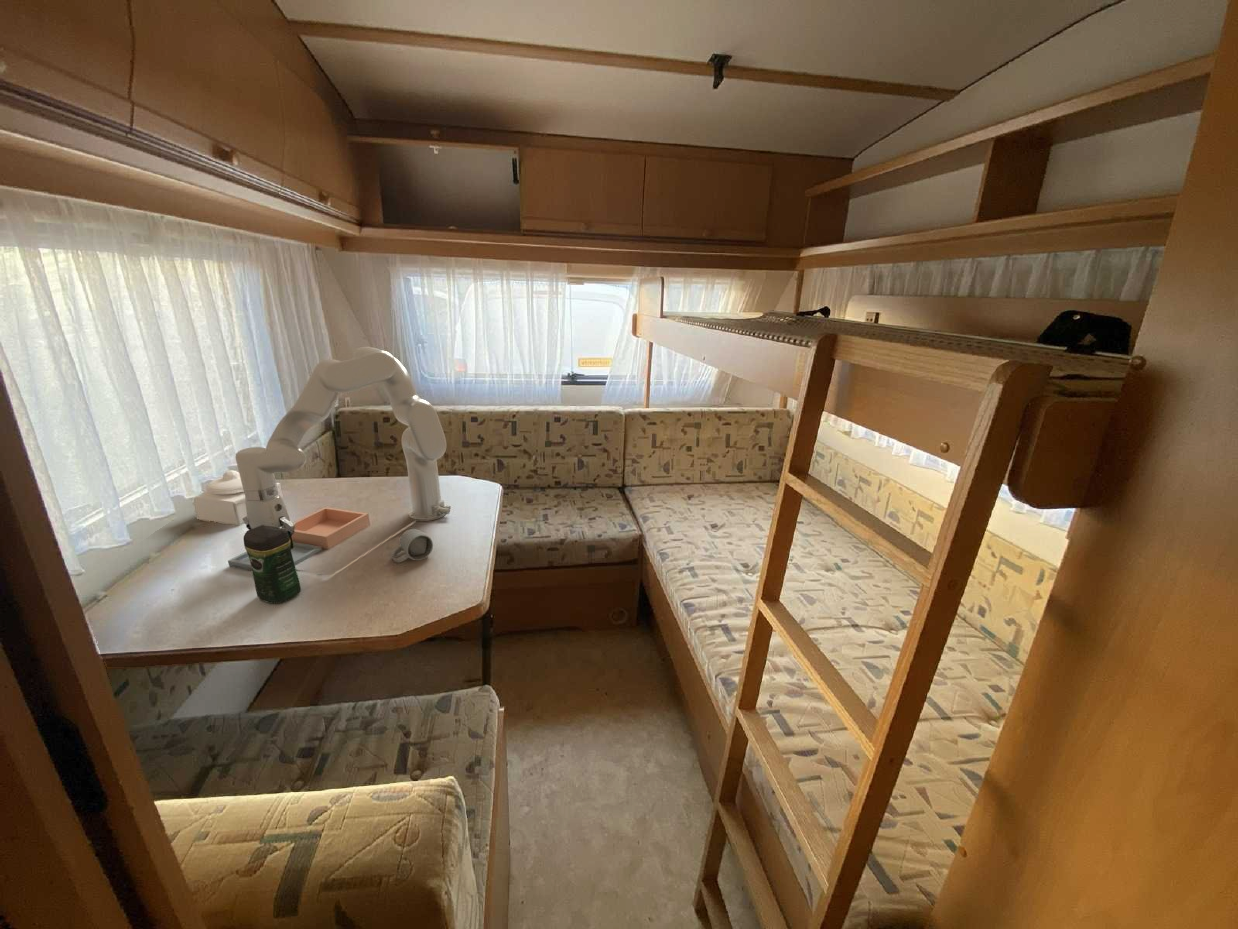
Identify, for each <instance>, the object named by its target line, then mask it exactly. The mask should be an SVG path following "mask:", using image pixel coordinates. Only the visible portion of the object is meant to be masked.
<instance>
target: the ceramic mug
mask: <svg viewBox="0 0 1238 929" xmlns="http://www.w3.org/2000/svg"><path fill="white" fill-rule="evenodd" d="M399 545H400V546H399V547H397V548H396V549H395V550H394V551H393V552H392V553H391V558H392V560H393V561H394V562H395V563H397V564H398V563H402V562H403V561H406V560H407V559H410V560H411V561H422V560H425V559H426V558H428V557H429V556H430V555H431V553H432V551H433V548H434V542H433V539H432V538H431V537H430V536H429V535H427V534H426V533H424V532H423V531H422V530H420V529H417V528H410V529H407V530H405V531H404V532H403V533H402V534H401V535H400V537H399ZM401 552H404V554H402V555H401V556H399V557H397V556H398V555H399V554H400V553H401Z"/></svg>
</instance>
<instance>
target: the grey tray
mask: <svg viewBox="0 0 1238 929" xmlns="http://www.w3.org/2000/svg"><path fill="white" fill-rule="evenodd" d="M293 546H294V548H293V549H291V553H292V557H293V561H294V565H295V566H297V565H298V564H300V563H303V561H306V560H307V559H309V558H311V557H312V556H314V555H316V554H317V553H319V552H321V551H323V550H322V549H323V548H321V547H320V546H314V545H309V544H303V543H297V542H293ZM227 563H228V567H229V568H232V569H238V570H243V571H247V572H252V568H251V563H250V559H249V556H248V554H247V551H246V550H245V552H242V553H241V554H238V555H237V556H234V557H233V558H230V559H228V560H227Z"/></svg>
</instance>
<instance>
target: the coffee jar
mask: <svg viewBox="0 0 1238 929" xmlns="http://www.w3.org/2000/svg"><path fill="white" fill-rule="evenodd" d="M281 528H282V527H280V528H277V527H272V526H264V525H261V526H258V527H256V528H253V529H251V530H249V529H248V530H246V531H245V533H244V535H243V546H244V549H245V552H246V551H247V554H248V556H249V559H250V563H251V568H252V571H251V573H252V576H253V582H254V587H255V591H256V592H255V593H256V595H257V598H258V599H260V600H261V601H264V602H266V603H269V604H280V603H282V602H287V601H290V600H291V599H293V598H295V597H296V596H297V595H298V594H300V592H301V590H302V587H301V584H300V579H299V576H298V573H297V569H296V565H294V561H293V557H292V553H291V547H290V544H291V541H290V538H289V535H288V532H287V530H284V529H281Z"/></svg>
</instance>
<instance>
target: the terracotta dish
mask: <svg viewBox="0 0 1238 929" xmlns="http://www.w3.org/2000/svg"><path fill="white" fill-rule="evenodd" d="M292 523H293V524H294V525H295V529H294V533H293V536H291V537H292V542H297V543H303V544H309V545H314V546H320V547H321V548H322V549H327V550H330V549H331V548H333V547H335V546H337V545H338V544H340V543H342V542H344V541H345V540H346V539H349V538H350V537H352V536H353V535H355V534H357V533H359V532H360V531H362V530H364V529H365V528H368V526H370V525H371V523H370V517H369V513H366V512H359V511H354V510H346V509H341V508H333V507H327V506H324V507H323V508H321V509H318V510H317V511H315V512H312V513H310V514H308V515H305V516H304V517H302V518H300V519H298V520H296V521H294V522H292Z"/></svg>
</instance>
